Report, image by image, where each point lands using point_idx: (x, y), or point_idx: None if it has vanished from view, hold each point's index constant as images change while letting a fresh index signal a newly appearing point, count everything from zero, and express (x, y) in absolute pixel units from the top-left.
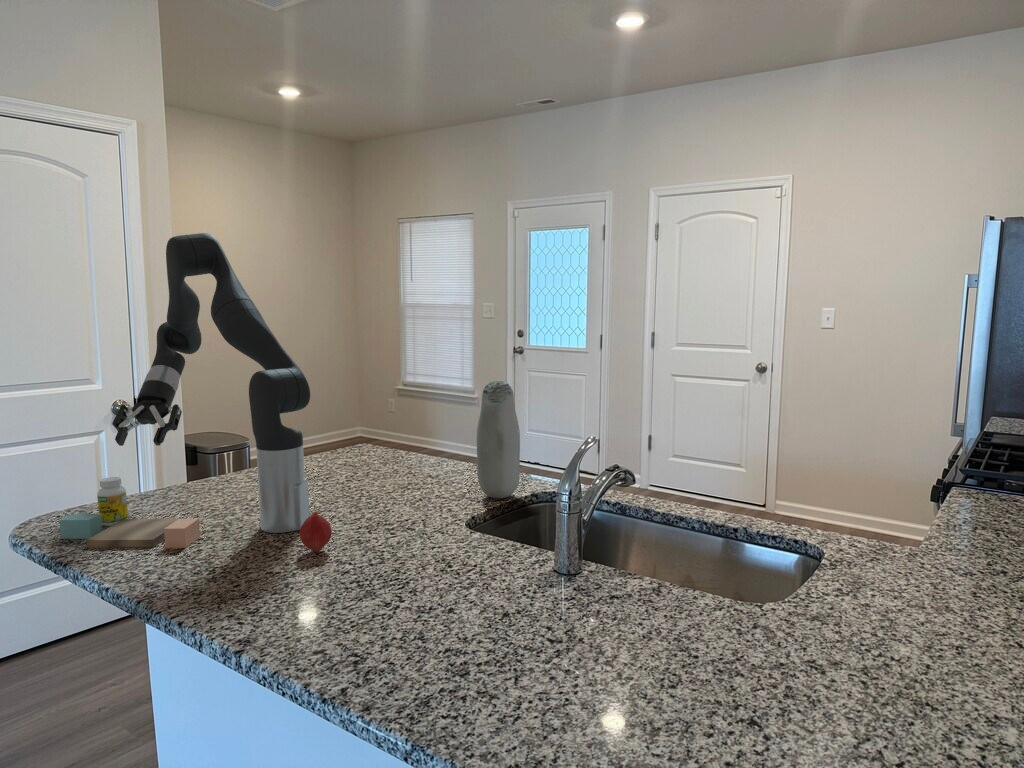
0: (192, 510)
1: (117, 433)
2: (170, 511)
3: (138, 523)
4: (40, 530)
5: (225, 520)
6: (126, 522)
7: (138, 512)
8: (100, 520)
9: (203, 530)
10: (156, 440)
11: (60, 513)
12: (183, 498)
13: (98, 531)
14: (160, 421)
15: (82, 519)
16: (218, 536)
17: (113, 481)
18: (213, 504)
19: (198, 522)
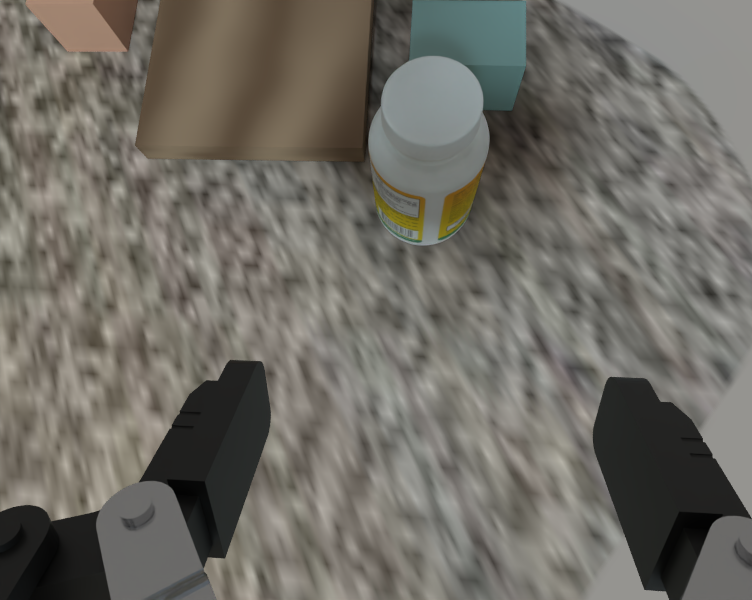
0: (177, 335)
1: (718, 473)
2: (263, 328)
3: (280, 98)
4: (650, 129)
5: (21, 204)
6: (329, 109)
7: (392, 324)
8: None
9: (72, 108)
10: (231, 366)
11: (735, 334)
12: (280, 537)
13: None
14: (151, 572)
15: (440, 5)
16: (13, 55)
17: (396, 70)
18: (112, 418)
19: (35, 11)
